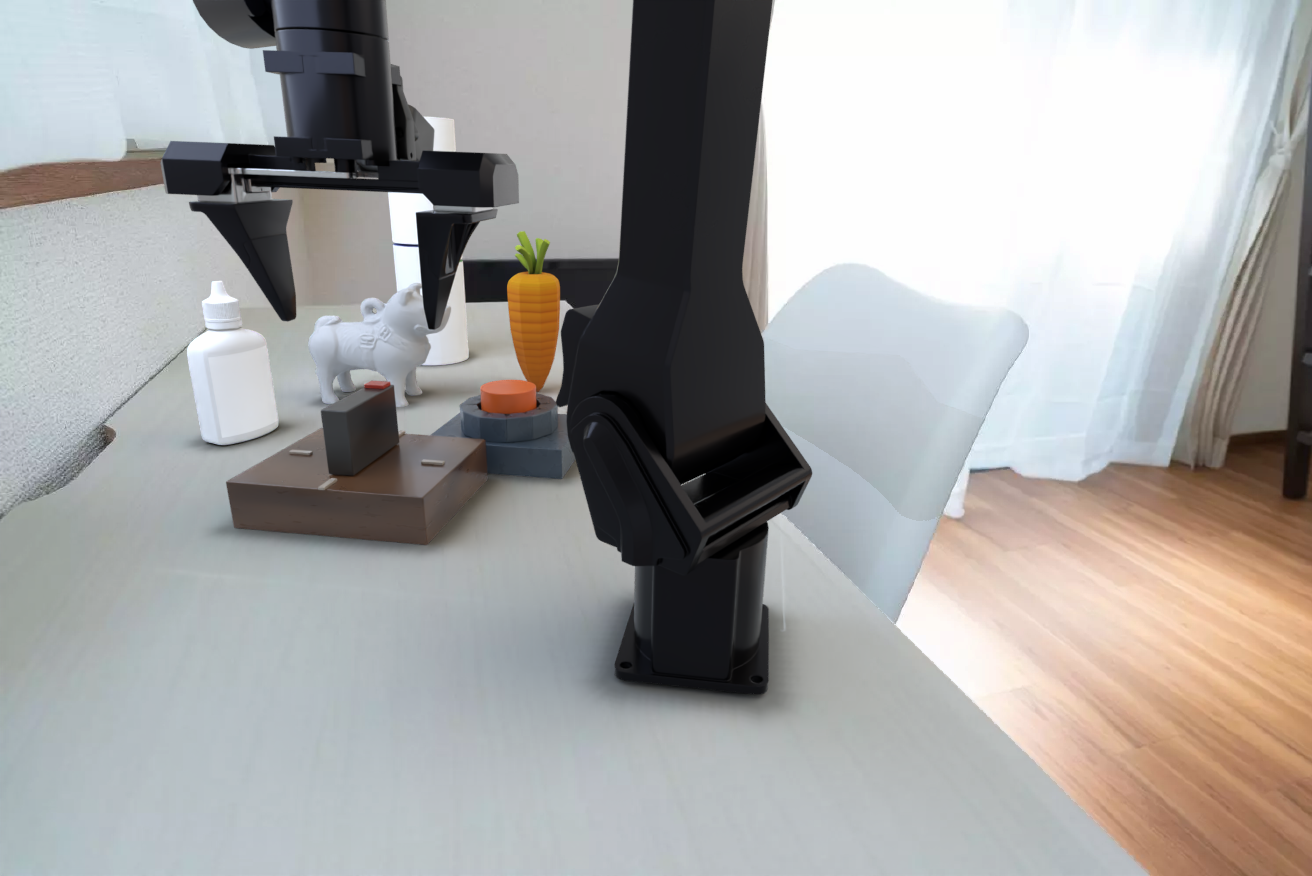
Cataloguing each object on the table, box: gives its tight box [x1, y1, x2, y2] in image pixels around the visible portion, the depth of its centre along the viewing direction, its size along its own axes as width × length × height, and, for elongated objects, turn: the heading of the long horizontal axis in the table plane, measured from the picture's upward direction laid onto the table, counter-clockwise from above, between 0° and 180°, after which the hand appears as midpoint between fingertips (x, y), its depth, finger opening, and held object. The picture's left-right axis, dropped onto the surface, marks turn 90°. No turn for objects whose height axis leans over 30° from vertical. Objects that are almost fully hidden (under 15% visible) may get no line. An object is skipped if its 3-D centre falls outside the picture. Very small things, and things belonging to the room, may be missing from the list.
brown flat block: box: [225, 427, 489, 546], centre depth 48 cm, size 10×12×3 cm
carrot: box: [506, 230, 561, 393], centre depth 71 cm, size 5×5×15 cm
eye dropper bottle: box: [186, 280, 280, 446], centre depth 58 cm, size 4×6×12 cm
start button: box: [479, 379, 537, 414], centre depth 56 cm, size 4×4×2 cm
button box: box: [430, 392, 576, 480], centre depth 56 cm, size 8×10×4 cm
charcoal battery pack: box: [320, 380, 399, 476], centre depth 47 cm, size 6×2×4 cm, turn 172°
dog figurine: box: [307, 282, 451, 408], centre depth 68 cm, size 5×13×11 cm, turn 87°
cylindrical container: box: [387, 115, 470, 366], centre depth 81 cm, size 7×7×25 cm
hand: (361, 324), depth 46 cm, fingers open, 9 cm apart
